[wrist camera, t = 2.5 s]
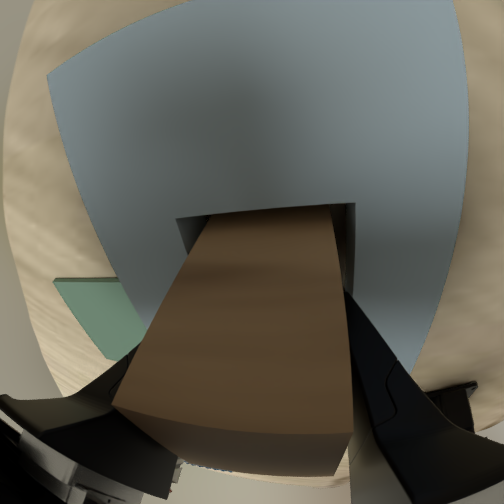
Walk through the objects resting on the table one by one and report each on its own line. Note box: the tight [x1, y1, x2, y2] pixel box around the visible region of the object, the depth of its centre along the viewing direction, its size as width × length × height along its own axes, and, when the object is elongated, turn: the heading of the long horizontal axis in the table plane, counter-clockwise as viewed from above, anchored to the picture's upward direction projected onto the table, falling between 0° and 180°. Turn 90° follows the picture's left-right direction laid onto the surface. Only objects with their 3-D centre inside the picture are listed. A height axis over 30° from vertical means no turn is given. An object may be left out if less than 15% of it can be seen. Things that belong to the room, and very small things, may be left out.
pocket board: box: [47, 0, 469, 375], centre depth 11 cm, size 20×14×2 cm
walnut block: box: [111, 204, 353, 477], centre depth 9 cm, size 4×4×9 cm
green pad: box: [53, 278, 147, 361], centre depth 18 cm, size 9×9×1 cm
